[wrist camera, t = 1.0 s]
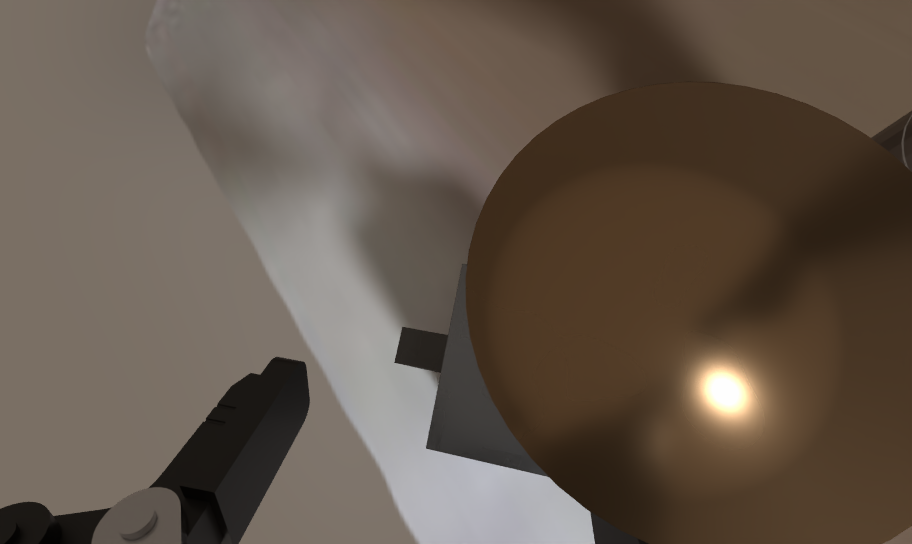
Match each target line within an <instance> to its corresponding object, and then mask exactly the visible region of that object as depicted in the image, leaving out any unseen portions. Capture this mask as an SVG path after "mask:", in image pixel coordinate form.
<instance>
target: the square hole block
mask: <svg viewBox="0 0 912 544" xmlns="http://www.w3.org/2000/svg"><path fill="white" fill-rule="evenodd" d="M466 271H467V265H466V264H462V269H461V274H460V279H459V284H458V289H457V294H456V299H455V304H454V309H453V314H452V319H451V324H450V329H449V334H448V335H444V334H438V333H433V332H427V331H422V330H417V329H411V328H406V327H402V332H401V336H400V340H399V345H398V349H397V354H396V358H395V362H394V363H398V364H403V365H407V366H412V367H416V368H421V369H425V370H430V371H435V372H440V373H441V375H440V380H439V385H438V390H437V395H436V400H435V405H434V410H433V415H432V420H431V425H430V430H429V435H428V440H427V445H426V449H431V450H435V451H439V452H444V453H448V454H452V455H457V456H461V457H465V458H470V459H474V460H478V461H483V462H487V463H491V464H495V465H500V466H504V467H508V468H513V469H517V470H521V471H526V472H530V473H534V474H539V475H543V476H547V477H549V476H548V475H547V474H546V473H545V472H544V471H543V470H542V469H541V468H540V467H539V466H538V465H537V464H536V463H535V462H534V461H533V460H532V459H531V458H530V456H529V455H528V454H527V452H526V451H525V450H524V448H523V447H522V446H521V444H520V443H519V442H518V440H517V439H516V438H515V436H514V435H513V434H512V432H511V431H510V430H509V428H508V427H507V425H506V423H505V421H504V420H503V418H502V416H501V414H500V413H499V411H498V409H497V408H496V406H495V404H494V402H493V401H492V399H491V396H490V394H489V392H488V389H487V387H486V385H485V382H484V380H483V377H482V375H481V373H480V370H479V368H478V364H477V361H476V357H475V353H474V350H473V346H472V343H471V339H470V333H469V326H468V319H467V312H466Z"/></svg>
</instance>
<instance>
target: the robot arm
mask: <svg viewBox="0 0 912 544" xmlns="http://www.w3.org/2000/svg"><path fill="white" fill-rule="evenodd" d="M871 139H872V140H874V141H875V142H876V143H878V144H879V145H881V146H882V147H883V148H885V149H886V150H887V151H889V152H890V153H891V154H893V155H894V156H895V157H896V158H897V159H898V160H899V161H900V162H902V163H903V164H904V165H905V166H906V167H907V168H908V169H909V170H910V171H911V172H912V111H911V112H909V113H908V114H906V115H905V116H903V117H902V118H900V119H899V120H897V121H896V122H894V123H893V124H891V125H890V126H888V127H887V128H885V129H884V130H882V131H881V132H879V133H878V134H876V135H875V136H873V137H872V138H871ZM309 403H310V397H309V388H308V379H307V370H306V364H305V362H302V361H297V360H291V359H286V358H280V357H275V358H273V359H272V360H271V361H270V363H269V364H268V365H267V367H266V368H265V369H264V371H263V372H262V373H261V375H258V374H253V373H250V374H249V375H247V376H246V377H244V378H243V379H241V380H240V381H238V382H237V383H236V384H234V385H233V386H231V387H230V389H229V390H228V391H227V392H226V394H225V395H224V396H223V398H222V399H221V400H220V401H219V403H218V405H217V407H215V408H214V409H213V410H212V411H211V413H210V414H209V415H208V417H207V418H206V421H205V422H203V423H202V424H201V425H200V426H199V428H198V429H197V430H196V432H195V433H194V434H193V435H192V437H191V438H190V439H189V440H188V442H187V443H186V444H185V445H184V447H183V448H182V449H181V451H180V452H179V453H178V454H177V456H176V457H175V458H174V459H173V461H172V462H171V463H170V464H169V466H168V467H167V468H166V470H165V471H164V472H163V473H162V475H161V476H160V477H159V478H158V479H157V480H156V481H155V482H154V483H153V484H152V485H151V486H150V487H149V488H147V489H144V490H141V491H138V492H135V493H133V494H131V495H129V496H127V497H126V498H124V499H123V500H121V501H120V502H118V503H117V504H116V505H114V506H113V507H112V508H108V509H102V510H95V511H88V512H81V513H74V514H66V515H58V516H53V515H52V514H51V513H50V511H49V510H48V509H47V508H46V507H45V506H44V505H42V504H40V503H36V502H23V503H18V504H13V505H10V506H7V507H4V508H2V509H0V544H239V542H240V540H241V538H242V536H243V535H244V532H245V531H246V529H247V527H248V525H249V523H250V521H251V520H252V518H253V516H254V514H255V512H256V510H257V508H258V507H259V505H260V503H261V501H262V499H263V497H264V496H265V494H266V492H267V490H268V488H269V486H270V484H271V483H272V481H273V479H274V477H275V475H276V473H277V471H278V470H279V468H280V466H281V464H282V462H283V460H284V458H285V456H286V455H287V453H288V451H289V449H290V447H291V445H292V444H293V442H294V440H295V438H296V436H297V434H298V432H299V430H300V429H301V427H302V425H303V423H304V421H305V419H306V416H307V413H308V408H309ZM591 519H592V526H593V533H594V539H595V544H649V543H646V542H644V541H642V540H640V539H638V538H636V537H634V536H631V535H629V534H627V533H625V532H623V531H621V530H619V529H618V528H616V527H614V526H613V525H611V524H610V523H608V522H606V521H605V520H603V519H602V518H600V517H598V516H597V515H595V514H594V513H592V512H591Z"/></svg>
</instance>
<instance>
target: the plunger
mask: <svg viewBox="0 0 912 544" xmlns="http://www.w3.org/2000/svg"><path fill="white" fill-rule="evenodd" d="M466 312H467V319H468V326H469V333H470V339H471V343H472V346H473V350H474V353H475V357H476V361H477V364H478V368H479V370H480V373H481V375H482V377H483V380H484V382H485V385H486V387H487V389H488V392H489V394H490V396H491V399H492V401H493V402H494V404H495V406H496V408H497V409H498V411H499V413H500V414H501V416H502V418H503V420H504V421H505V423H506V425H507V427H508V428H509V430H510V431H511V432H512V434H513V435H514V436H515V438H516V439H517V440H518V442H519V443H520V444H521V446H522V447H523V448H524V450H525V451H526V452H527V454H528V455H529V456H530V458H531V459H532V460H533V461H534V462H535V463H536V464H537V465H538V466H539V467H540V468H541V469H542V470H543V471H544V472H545V473H546V474H547V475H548V476H549V477H550V478H551V479H552V480H553V481H554V482H555V484H556V485H558V486H559V487H560V488H561V489H562V490H564V491H565V492H566V493H567V494H569V495H570V496H571V497H572V498H574V499H575V500H576V501H577V502H579V503H580V504H581V505H582V506H583V507H585V508H586V509H587V510H589V511H590V512H592V513H594V514H595V515H597V516H598V517H600V518H602V519H603V520H605V521H606V522H608V523H610V524H611V525H613V526H614V527H616V528H618V529H619V530H621V531H623V532H625V533H627V534H629V535H631V536H634V537H636V538H638V539H640V540H642V541H644V542H646V543H649V544H882V543H884V542H886V541H889V540H891V539H892V538H894V537H895V536H897V535H898V534H900V533H901V532H903V531H904V530H906V529H907V528H909V527H910V526H912V172H911V171H910V170H909V169H908V168H907V167H906V166H905V165H904V164H903V163H902V162H900V161H899V160H898V159H897V158H896V157H895V156H894V155H893V154H891V153H890V152H889V151H887V150H886V149H885V148H883V147H882V146H881V145H879V144H878V143H876V142H875V141H874V140H872V139H871V138H870V137H868V136H867V135H866V134H864V133H862V132H861V131H859V130H857V129H855V128H854V127H852V126H850V125H849V124H847V123H845V122H844V121H842V120H840V119H838V118H837V117H835V116H832V115H830V114H828V113H826V112H824V111H821V110H819V109H817V108H815V107H813V106H811V105H808V104H806V103H803V102H800V101H797V100H794V99H791V98H788V97H785V96H782V95H780V94H777V93H772V92H768V91H764V90H759V89H755V88H751V87H747V86H739V85H731V84H724V83H715V82H677V83H664V84H655V85H649V86H644V87H639V88H633V89H629V90H625V91H622V92H619V93H616V94H612V95H609V96H606V97H603V98H600V99H598V100H596V101H593V102H591V103H589V104H587V105H584V106H582V107H580V108H578V109H576V110H574V111H573V112H571V113H569V114H567V115H566V116H564V117H562V118H560V119H559V120H557V121H555V122H554V123H553V124H551V125H550V126H549V127H548V128H546V129H545V130H544V131H542V132H541V133H540V134H538V135H537V136H536V137H534V138H533V139H532V140H531V141H530V142H529V143H528V144H527V145H526V146H525V147H524V148H523V149H522V150H521V151H520V152H519V153H518V154H517V155H516V156H515V158H514V159H513V160H512V161H511V163H510V164H509V165H508V166H507V168H506V169H505V170H504V172H503V173H502V174H501V175H500V177H499V179H498V180H497V182H496V184H495V185H494V187H493V189H492V190H491V192H490V194H489V196H488V197H487V199H486V201H485V204H484V206H483V209H482V211H481V213H480V216H479V218H478V221H477V223H476V226H475V230H474V234H473V237H472V241H471V245H470V249H469V255H468V263H467V271H466Z"/></svg>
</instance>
